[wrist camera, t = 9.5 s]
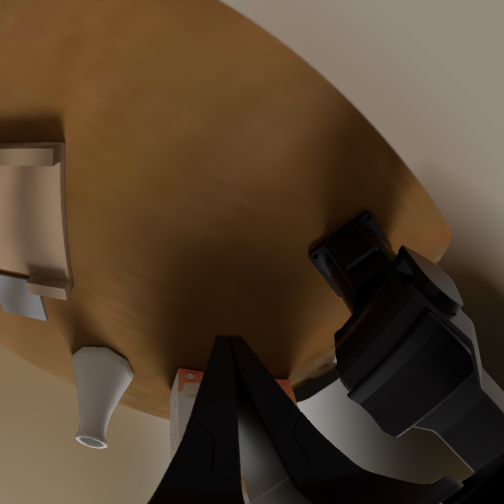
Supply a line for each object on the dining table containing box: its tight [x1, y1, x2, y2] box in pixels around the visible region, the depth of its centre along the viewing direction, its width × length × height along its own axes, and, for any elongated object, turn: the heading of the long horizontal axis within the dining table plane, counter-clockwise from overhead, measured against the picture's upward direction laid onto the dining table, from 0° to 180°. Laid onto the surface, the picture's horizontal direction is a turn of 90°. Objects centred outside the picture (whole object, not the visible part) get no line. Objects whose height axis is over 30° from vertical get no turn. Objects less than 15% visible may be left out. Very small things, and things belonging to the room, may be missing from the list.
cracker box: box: [170, 368, 298, 504], centre depth 24 cm, size 14×6×21 cm, turn 68°
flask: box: [72, 347, 134, 448], centre depth 24 cm, size 7×7×10 cm
